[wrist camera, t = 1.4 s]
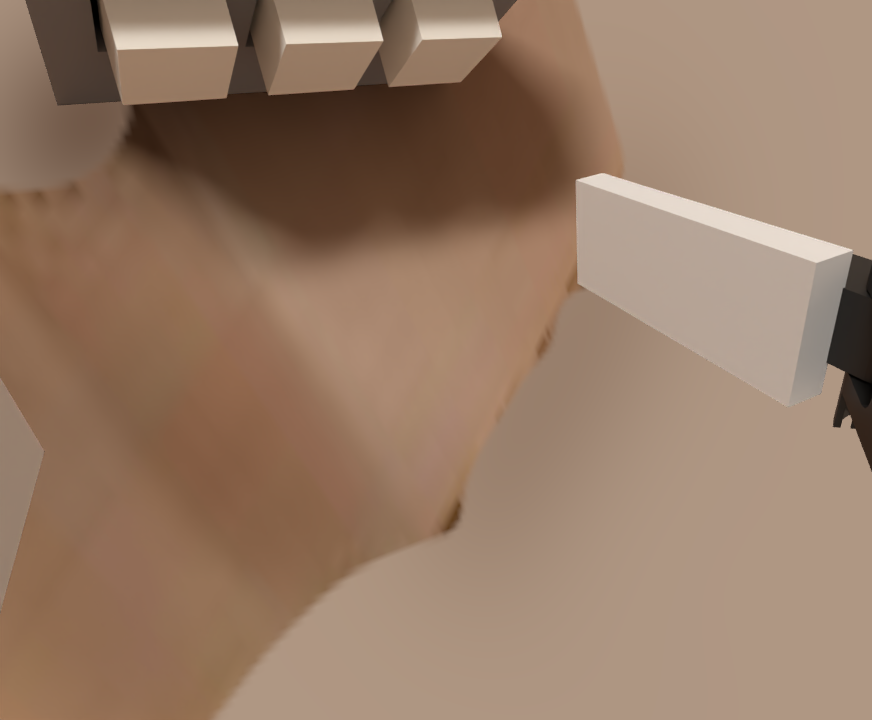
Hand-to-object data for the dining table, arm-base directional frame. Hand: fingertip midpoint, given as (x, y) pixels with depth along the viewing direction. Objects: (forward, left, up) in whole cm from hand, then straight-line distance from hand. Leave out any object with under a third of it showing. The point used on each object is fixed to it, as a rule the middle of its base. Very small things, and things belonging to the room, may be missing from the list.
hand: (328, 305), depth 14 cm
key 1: (-15, +5, -20) cm, 26 cm away
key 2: (-12, +20, -20) cm, 31 cm away
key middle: (-14, +13, -20) cm, 28 cm away
